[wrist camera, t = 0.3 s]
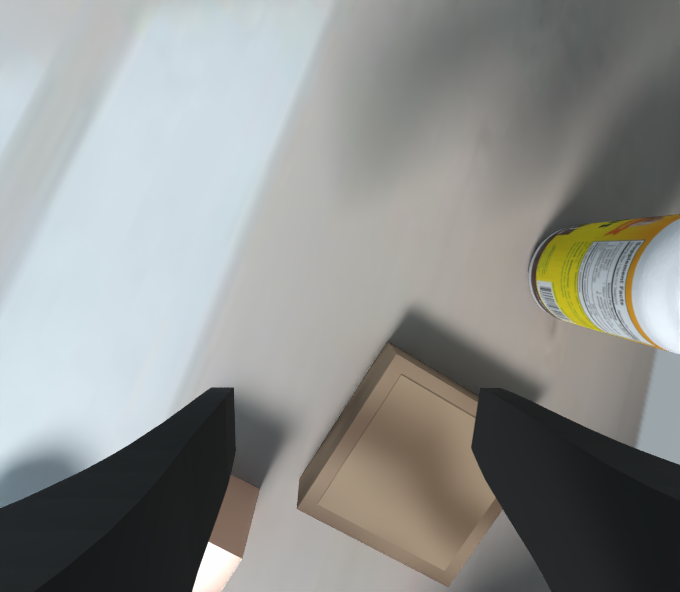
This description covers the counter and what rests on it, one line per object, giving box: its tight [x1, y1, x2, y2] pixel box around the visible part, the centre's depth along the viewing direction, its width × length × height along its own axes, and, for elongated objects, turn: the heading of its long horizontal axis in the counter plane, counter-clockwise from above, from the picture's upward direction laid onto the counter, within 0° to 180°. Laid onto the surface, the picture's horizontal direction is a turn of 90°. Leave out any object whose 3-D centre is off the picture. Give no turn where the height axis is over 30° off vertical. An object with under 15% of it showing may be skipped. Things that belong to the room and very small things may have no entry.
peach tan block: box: [192, 474, 260, 592], centre depth 19 cm, size 4×4×5 cm
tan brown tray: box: [297, 342, 503, 587], centre depth 21 cm, size 10×10×3 cm
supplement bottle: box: [528, 214, 680, 354], centre depth 16 cm, size 6×6×10 cm
